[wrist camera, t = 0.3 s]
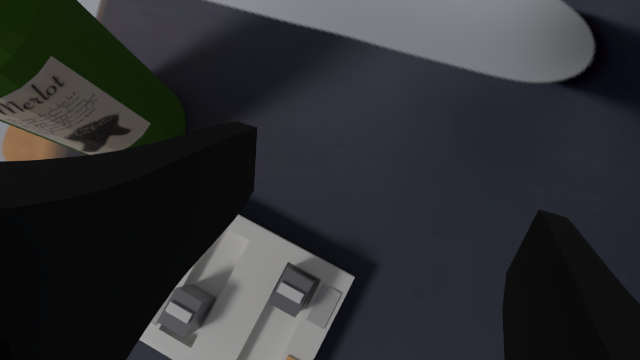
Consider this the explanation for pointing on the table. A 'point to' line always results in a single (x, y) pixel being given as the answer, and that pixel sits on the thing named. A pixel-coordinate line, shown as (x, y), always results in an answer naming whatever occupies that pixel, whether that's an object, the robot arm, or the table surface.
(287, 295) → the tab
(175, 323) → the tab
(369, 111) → the table surface
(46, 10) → the wine bottle
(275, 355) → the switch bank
